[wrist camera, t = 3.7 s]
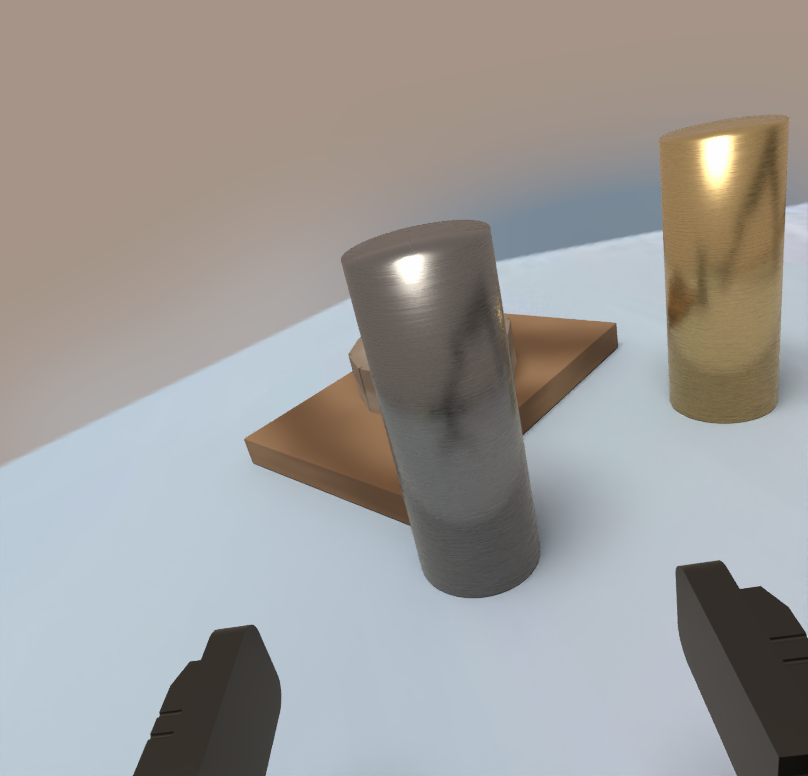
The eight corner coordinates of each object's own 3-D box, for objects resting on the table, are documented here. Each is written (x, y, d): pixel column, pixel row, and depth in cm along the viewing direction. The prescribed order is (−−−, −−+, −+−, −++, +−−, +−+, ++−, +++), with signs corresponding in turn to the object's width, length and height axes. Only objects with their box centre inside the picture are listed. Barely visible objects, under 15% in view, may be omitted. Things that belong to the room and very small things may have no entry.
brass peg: (690, 371, 33) (684, 124, 28) (790, 383, 30) (803, 109, 25) (654, 412, 30) (640, 147, 25) (760, 431, 27) (767, 134, 22)
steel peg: (467, 503, 27) (408, 221, 22) (562, 535, 24) (520, 218, 19) (397, 569, 24) (310, 266, 19) (495, 615, 21) (423, 270, 16)
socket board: (456, 328, 45) (445, 274, 43) (618, 346, 37) (612, 281, 35) (252, 462, 34) (228, 397, 32) (420, 529, 26) (399, 446, 24)
